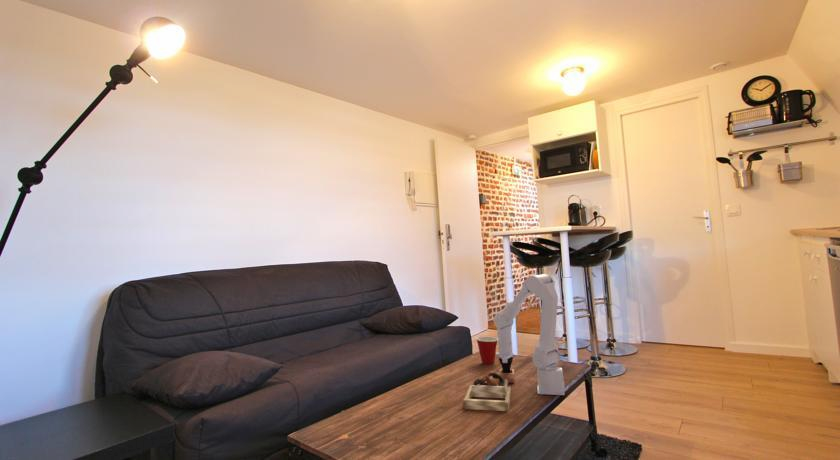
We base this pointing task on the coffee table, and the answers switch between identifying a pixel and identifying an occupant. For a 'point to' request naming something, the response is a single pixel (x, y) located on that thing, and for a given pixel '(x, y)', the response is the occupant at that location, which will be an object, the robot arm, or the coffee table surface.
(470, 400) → the frame
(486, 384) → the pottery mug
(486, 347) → the plastic cup
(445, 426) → the coffee table surface
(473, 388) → the pull frame
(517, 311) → the robot arm
